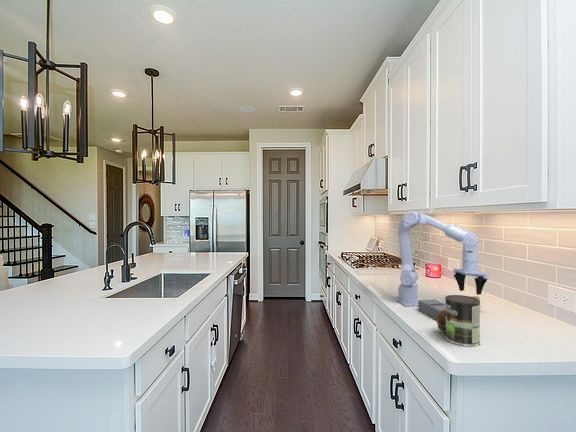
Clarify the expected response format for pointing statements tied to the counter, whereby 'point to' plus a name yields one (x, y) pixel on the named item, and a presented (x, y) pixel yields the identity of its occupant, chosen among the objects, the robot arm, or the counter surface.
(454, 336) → the coffee can
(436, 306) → the dispenser
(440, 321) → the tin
